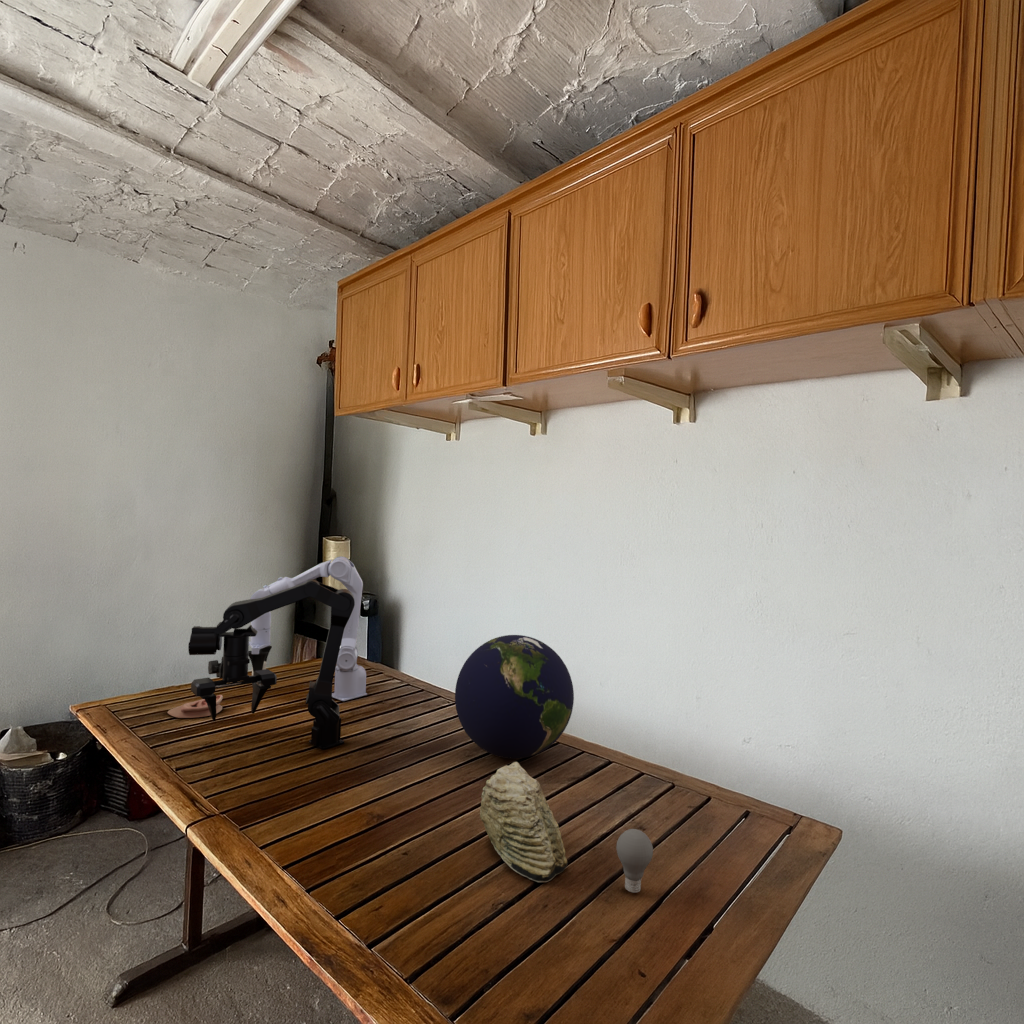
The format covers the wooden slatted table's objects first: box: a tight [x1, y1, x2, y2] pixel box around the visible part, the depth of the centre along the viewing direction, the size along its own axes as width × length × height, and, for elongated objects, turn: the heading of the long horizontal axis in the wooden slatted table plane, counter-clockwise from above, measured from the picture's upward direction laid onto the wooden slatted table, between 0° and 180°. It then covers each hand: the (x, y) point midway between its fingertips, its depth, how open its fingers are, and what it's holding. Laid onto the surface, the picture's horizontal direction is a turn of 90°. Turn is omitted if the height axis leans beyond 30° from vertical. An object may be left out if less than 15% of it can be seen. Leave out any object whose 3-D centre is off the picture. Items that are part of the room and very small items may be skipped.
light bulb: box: [615, 828, 654, 894], centre depth 106 cm, size 6×6×10 cm
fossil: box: [479, 761, 569, 883], centre depth 114 cm, size 9×18×15 cm, turn 46°
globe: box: [454, 634, 575, 760], centre depth 160 cm, size 30×30×30 cm
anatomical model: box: [167, 694, 224, 719], centre depth 180 cm, size 13×4×12 cm
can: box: [251, 661, 267, 676], centre depth 196 cm, size 4×4×5 cm
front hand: (233, 716), depth 156 cm, fingers open, 9 cm apart
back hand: (259, 671), depth 196 cm, fingers closed on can, 4 cm apart
